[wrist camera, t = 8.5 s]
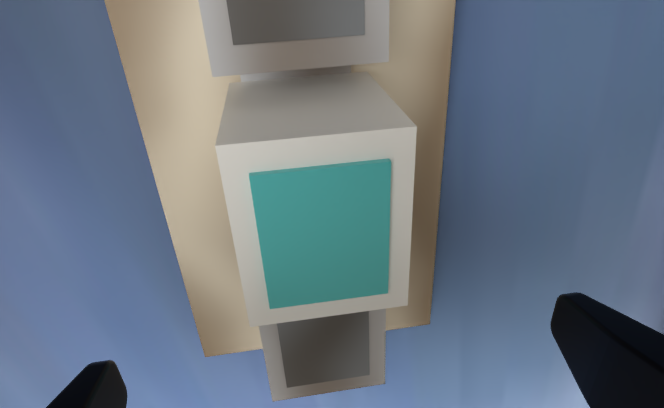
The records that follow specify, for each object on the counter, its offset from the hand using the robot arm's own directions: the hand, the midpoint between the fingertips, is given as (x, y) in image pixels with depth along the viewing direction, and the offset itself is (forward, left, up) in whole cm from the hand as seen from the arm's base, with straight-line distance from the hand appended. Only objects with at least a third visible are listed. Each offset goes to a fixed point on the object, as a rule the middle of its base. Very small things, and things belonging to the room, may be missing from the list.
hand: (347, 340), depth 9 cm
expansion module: (0, 0, -10) cm, 10 cm away
